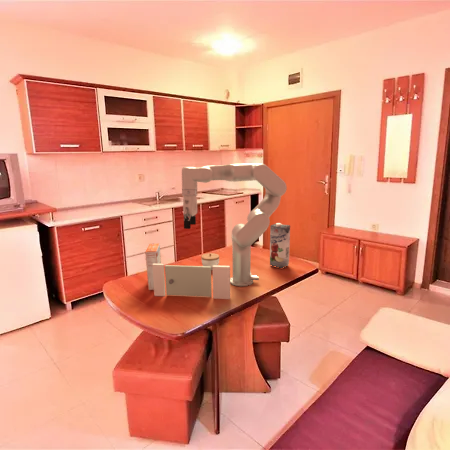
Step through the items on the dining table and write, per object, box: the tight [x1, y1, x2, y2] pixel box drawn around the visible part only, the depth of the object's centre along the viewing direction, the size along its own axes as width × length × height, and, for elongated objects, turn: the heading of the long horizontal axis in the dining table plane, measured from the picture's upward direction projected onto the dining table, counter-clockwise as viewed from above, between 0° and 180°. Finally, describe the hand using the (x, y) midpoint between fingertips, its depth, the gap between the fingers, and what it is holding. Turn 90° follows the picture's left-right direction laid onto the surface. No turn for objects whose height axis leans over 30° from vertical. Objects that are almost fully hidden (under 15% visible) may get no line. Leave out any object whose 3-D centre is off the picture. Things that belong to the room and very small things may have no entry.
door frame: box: [152, 263, 231, 300], centre depth 152 cm, size 37×2×16 cm, turn 83°
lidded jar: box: [201, 252, 220, 271], centre depth 190 cm, size 11×11×9 cm
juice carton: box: [269, 222, 291, 269], centre depth 190 cm, size 9×10×27 cm
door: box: [164, 264, 213, 298], centre depth 151 cm, size 22×3×15 cm, turn 83°
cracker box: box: [144, 242, 162, 291], centre depth 166 cm, size 14×6×21 cm, turn 5°
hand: (190, 226), depth 160 cm, fingers open, 9 cm apart
